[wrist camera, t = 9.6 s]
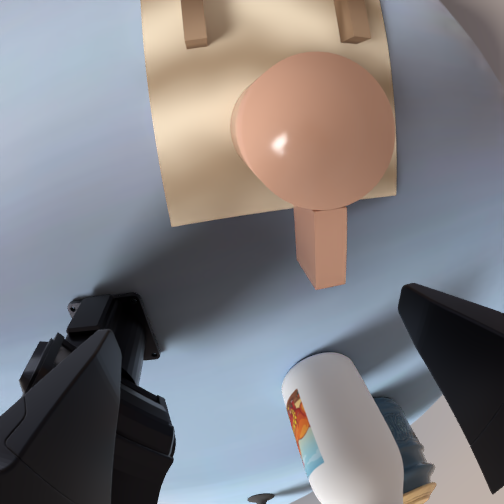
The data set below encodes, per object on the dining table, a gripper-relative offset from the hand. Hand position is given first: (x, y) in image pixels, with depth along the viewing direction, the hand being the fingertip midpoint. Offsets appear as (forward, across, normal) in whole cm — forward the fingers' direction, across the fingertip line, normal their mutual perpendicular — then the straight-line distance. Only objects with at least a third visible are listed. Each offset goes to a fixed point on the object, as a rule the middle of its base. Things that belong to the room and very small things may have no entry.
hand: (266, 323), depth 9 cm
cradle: (+13, -4, -9) cm, 16 cm away
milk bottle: (+13, -7, +18) cm, 23 cm away
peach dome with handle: (+12, -4, -3) cm, 13 cm away
